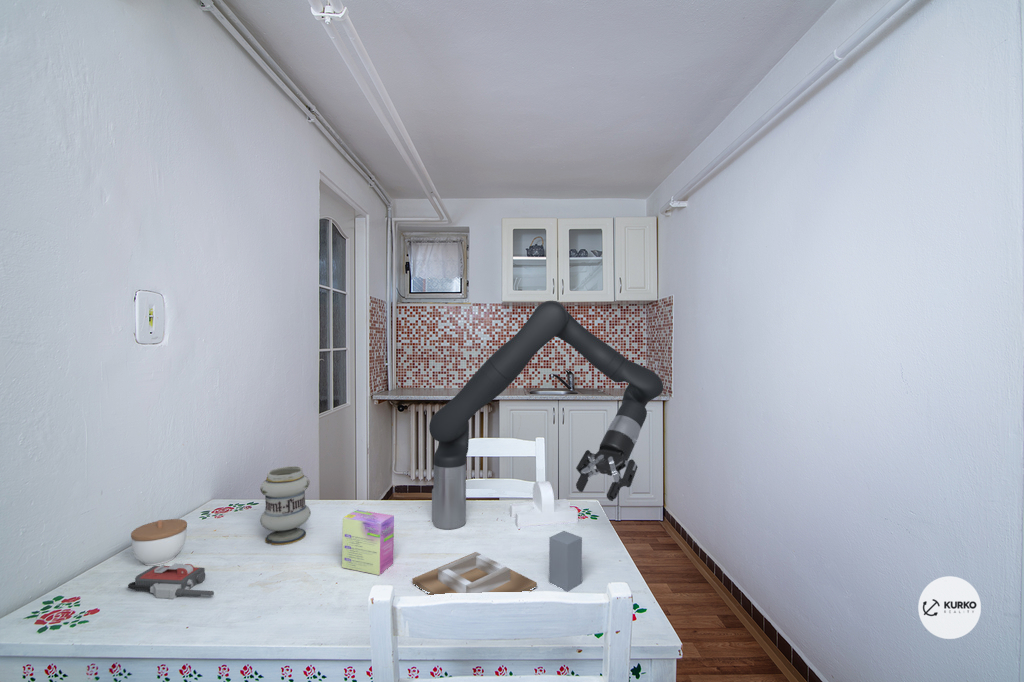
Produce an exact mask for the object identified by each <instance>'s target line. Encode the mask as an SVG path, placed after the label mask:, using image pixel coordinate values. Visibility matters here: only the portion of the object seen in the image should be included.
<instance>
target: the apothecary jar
mask: <svg viewBox="0 0 1024 682" xmlns="http://www.w3.org/2000/svg"><path fill="white" fill-rule="evenodd" d="M309 486H310V479H309V477H308V476H306V475H305V474H304V471H303V467H301V466H296V465H295V466H294V465H293V466H292V465H291V466H282V467H277V468H274V469H271V470H270V471H268V472H267V475H266V479H265V480H264V481H263V482H262V483H261V485H260V492H261V494H262V495H263V496H265V497H264V498H265V499H264V500H265V510H264V512H263V513H262V515H261V516H260V519H259V520H260V524H261V526H262V527H263V528H264V529H265V530H268V531H272V532H271V533H269V534H268V535H266V537H265V539H264V542H265V544H271V546H284V545H290V544H294V543H297V542H299V541H301V540H302V539H304V538H305V537H306V535H307V531H305V530H304V529H303V528H299V527H301V526H302V525H304V524H305V523H306V522H307V521H308V520H309V518H310V516H311V509H310V507H309V506H308V505H307V504H306V496H305V495H306V493H305V491H306V490H307V489H308V488H309Z"/></svg>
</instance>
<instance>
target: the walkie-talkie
mask: <svg viewBox="0 0 1024 682" xmlns="http://www.w3.org/2000/svg"><path fill="white" fill-rule="evenodd" d="M205 570H206V568H205V567H197V566H194V564H190V563H174V564H172V565H165V563H163V564H160V565H153V566H150V568H148V569H146V570H145V571H143V572H141V573H140V574H138V575H136V576H135V577H134V581H133V582H130V583H128V584H127V585H128V586H127V589H130V590H135V591H134V592H139V593H143V592H144V593H152V594H153V596H154V597H155V598H156V599H169V600H174V599H176V598H177V597H182V596H191V597H201V596H214V594H215V592H214V590H203V589H202V590H201V589H192V588H194V587H195V586H197V585H198V584H201V583H203V582H204V581H205V579H206V576H207V575H206V572H205Z"/></svg>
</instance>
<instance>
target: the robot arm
mask: <svg viewBox="0 0 1024 682" xmlns="http://www.w3.org/2000/svg"><path fill="white" fill-rule="evenodd" d="M532 312H533V313H532V314H531V315H530V316H529V318H528V319H527V320H526V321H525V323H524V325H523V326H522V327H521V328H520V329H519V330H518V331H517V333H516V334H515V335H514V336H513V337H511V338H510V339H509V340H507V342H505V343H504V344H502V346H500V347H499V348H498V349H497V350H495V352H493V354H491V356H489V357H488V359H487V360H486V361H485V362H483V364H482V365H481V366H480V367H479V368H478V370H477V371H476V372H474V374H473V375H472V377H471V378H470V379H469V380H468V381H467V382H466V383H465V385H464V386H463V387H462V388H461V390H459V392H458V393H457V394H455V396H454V397H453V398H452V399H451V400H449V401H448V402H447V403H446V404H445V405H443V406H442V407H441V408H440V409H439V410H438V411H437V412H436V411H435V413H434V414H433V415H432V417H431V419H430V421H429V424H428V425H429V427H428V428H429V433H430V435H431V437H432V438H433V440H435V441H437V442H438V444H437V449H436V450H435V452H434V455H433V488H432V489H431V522H433V525H434V527H435V528H438V529H440V530H441V529H442V530H454V529H459V528H461V527H463V526H465V525H466V523H467V522H466V521H467V519H466V518H467V514H466V513H467V512H466V511H467V456H468V453H469V452H468V451H469V440H470V433H469V432H470V423H469V421H470V419H472V417H473V416H474V415H475V414H476V413H477V412H478V411H479V410H481V409H482V408H484V407H485V406H487V404H489V403H491V402H492V401H493V400H495V399H496V398H498V396H500V394H502V393H503V392H504V391H505V390H506V389H507V388H508V387H509V386H510V385H511V384H512V383H514V381H515V380H516V379H517V377H519V375H520V374H521V373H522V372H523V370H525V367H526V366H527V365H528V364H529V363H530V361H531V360H532V359H533V358H534V356H535V355H536V353H537V352H539V351H540V350H541V349H542V348H543V347H544V346H546V345H547V344H548V343H549V342H550V341H552V340H553V338H555V337H556V338H558V339H560V340H562V341H563V342H565V343H566V344H568V345H569V346H571V348H573V349H574V350H576V351H577V352H578V353H579V354H580V355H581V356H582V357H583V358H584V359H585V360H586V361H587V362H589V363H590V364H591V365H592V366H593V367H594V368H596V369H597V370H598V371H599V372H600V373H602V374H603V375H604V376H606V377H607V378H609V379H610V380H611V381H612V382H615V383H621V382H623V383H624V382H625V383H627V384H628V385H627V386H626V387H625V389H624V393H623V396H622V398H621V399H622V400H621V405H620V407H619V409H618V411H617V413H616V414H615V417H614V418H613V420H612V421H611V423H610V424H609V426H608V428H607V430H606V431H605V434H604V436H603V438H602V440H601V442H600V444H599V449H598V451H597V452H596V453H592V452H591V451H590V450H589V449H587V450H585V452H584V454H583V455H582V457H581V459H580V460H579V462H578V464H577V466H576V467H575V469H576V471H577V472H578V473H579V477H578V479H577V481H576V483H575V487H576V489H577V491H579V492H580V493H583V492H584V490H585V488H586V486H587V484H588V482H589V479H591V478H592V477H593V476H598V475H599V474H602V475H608V476H610V477H613V481H612V482H611V485H610V486H609V489H608V490H607V493H606V499H608V500H609V502H613V501H614V500H615V499H617V497H618V495H619V493H620V490H621V489H622V488H623V487H627V488H630V487H631V486H632V483H633V481H634V478H635V475H636V473H637V470H638V465H637V463H636V461H634V459H632V458H631V459H630V460H629V458H630V457H631V455H632V453H633V451H634V448H635V445H636V443H637V442H638V440H639V439H638V438H639V436H640V433H641V430H642V428H643V426H644V423H645V421H646V419H647V416H648V415H647V414H648V410H647V408H646V406H647V404H648V403H649V402H651V401H652V400H654V399H655V398H657V397H659V396H660V395H661V394H662V393H663V391H664V383H663V381H662V379H661V377H660V376H659V375H658V374H657V373H656V372H654V371H653V370H651V369H650V368H647V367H646V366H642V365H640V364H639V363H637V362H634V361H631V360H629V359H628V358H626V357H625V356H624V355H622V354H621V353H620V352H619V351H618V350H616V349H615V348H613V347H612V346H610V345H609V344H608V343H606V342H605V341H604V340H602V339H600V338H599V337H597V336H596V335H595V334H594V333H592V332H590V331H589V330H588V329H586V328H585V327H584V326H583V325H582V324H581V323H580V322H578V320H577V319H575V318H574V316H572V314H571V313H570V312H569V311H568V310H567V309H566V307H565V306H564V305H563V304H562V303H561V302H559V301H556V300H547V301H546V300H545V301H544V302H541V303H540V304H539V305H538V306H537V307H536V308H535V309H534V311H532ZM595 467H596V468H595ZM624 468H625V471H624V474H623V475H622V474H621V470H623V469H624Z"/></svg>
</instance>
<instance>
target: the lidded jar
mask: <svg viewBox="0 0 1024 682" xmlns="http://www.w3.org/2000/svg"><path fill="white" fill-rule="evenodd" d="M187 527H188V522H187V521H186V520H185V519H179V518H168V519H159V520H156V521H152V522H148V523H145V524H144V525H141V526H138V527H136V528H134V529H133V531H131V532H130V539H131V547H132V549H131V550H132V552H133V555H134V556H135V558H136V560H138V561H139V562H141V563H142V564H143V565H145V566H147V567H148V566H149V567H153V566H161V565H163V564H166V563H169V562H171V561H173V560H174V559H175V558H176V556H177V555H178V554H179V553H180V552H181V550H182V549H183V547H184V546H185V542H186V538H187Z"/></svg>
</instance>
